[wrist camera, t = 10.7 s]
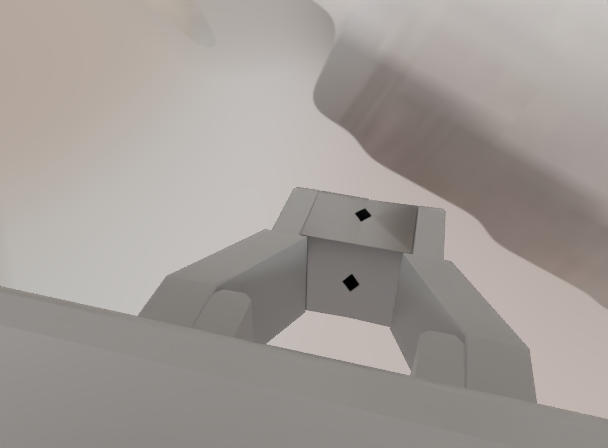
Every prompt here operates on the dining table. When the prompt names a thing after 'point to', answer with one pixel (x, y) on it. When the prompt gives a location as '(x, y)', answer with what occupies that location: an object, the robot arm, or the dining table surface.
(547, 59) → the dining table surface
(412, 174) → the dining table surface
